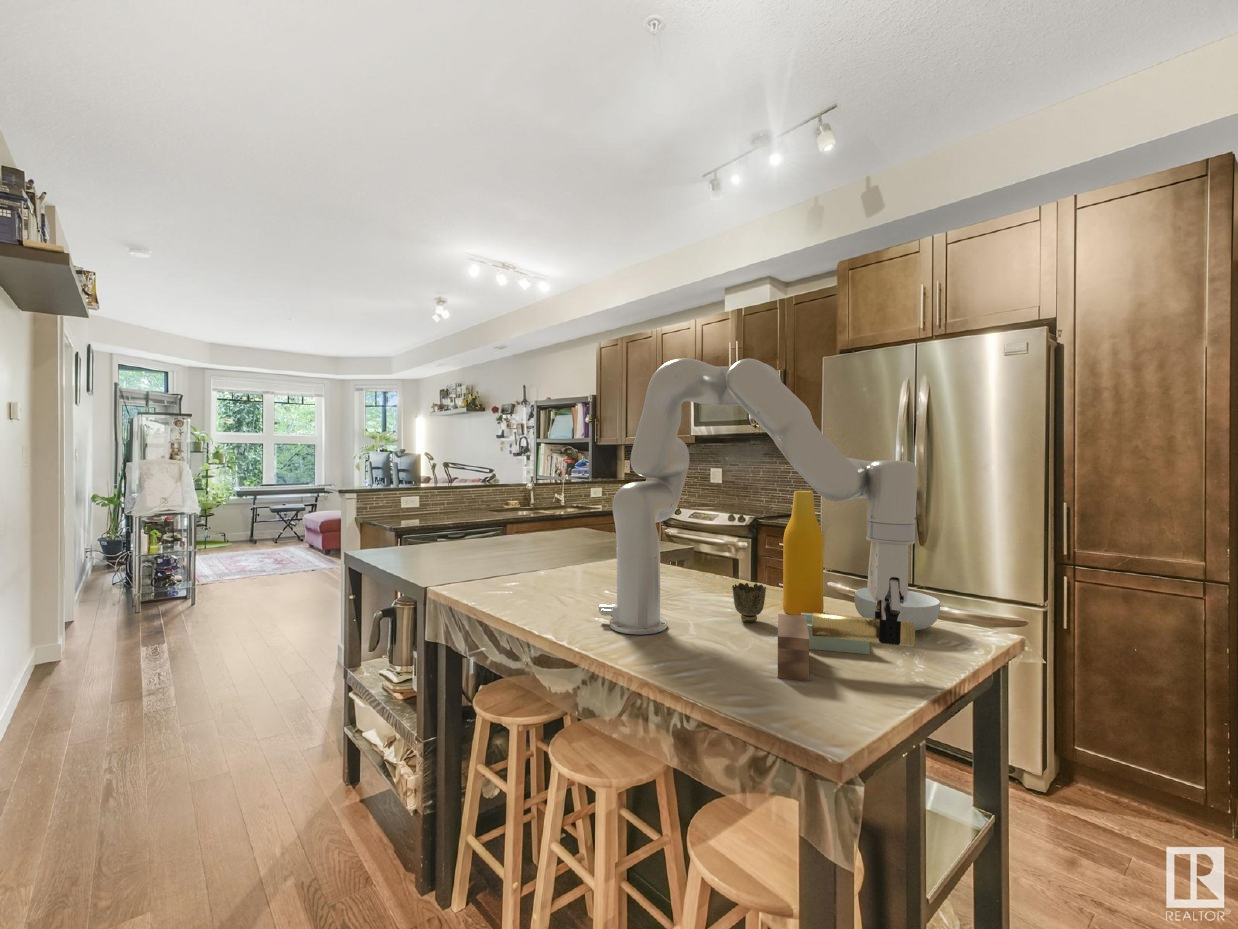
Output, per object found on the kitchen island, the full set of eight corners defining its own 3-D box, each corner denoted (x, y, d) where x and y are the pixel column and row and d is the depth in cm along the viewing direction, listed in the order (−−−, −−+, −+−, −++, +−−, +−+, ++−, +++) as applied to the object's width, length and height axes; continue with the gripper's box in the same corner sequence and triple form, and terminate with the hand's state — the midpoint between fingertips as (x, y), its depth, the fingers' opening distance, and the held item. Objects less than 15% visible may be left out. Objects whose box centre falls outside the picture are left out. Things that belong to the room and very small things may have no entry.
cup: (729, 623, 125) (729, 588, 125) (735, 615, 131) (735, 581, 131) (763, 627, 122) (763, 591, 122) (768, 618, 129) (768, 584, 129)
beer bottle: (811, 606, 139) (812, 490, 139) (831, 617, 130) (831, 492, 130) (776, 608, 138) (776, 490, 137) (793, 618, 129) (793, 492, 128)
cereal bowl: (912, 646, 110) (912, 610, 110) (838, 625, 124) (838, 593, 124) (955, 631, 120) (955, 598, 119) (882, 613, 133) (882, 583, 133)
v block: (802, 648, 109) (802, 625, 109) (800, 634, 117) (800, 612, 117) (869, 654, 105) (869, 630, 105) (862, 639, 114) (862, 617, 114)
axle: (812, 639, 98) (813, 618, 97) (811, 630, 101) (812, 609, 101) (914, 650, 93) (915, 627, 93) (909, 640, 97) (910, 618, 96)
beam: (777, 677, 94) (777, 636, 94) (778, 650, 108) (778, 614, 107) (808, 681, 93) (809, 639, 93) (805, 652, 106) (805, 616, 106)
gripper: (860, 525, 105) (856, 622, 105) (874, 538, 88) (870, 653, 89) (904, 527, 102) (901, 627, 103) (927, 541, 86) (922, 659, 87)
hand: (886, 638), depth 96 cm, fingers closed on axle, 4 cm apart
